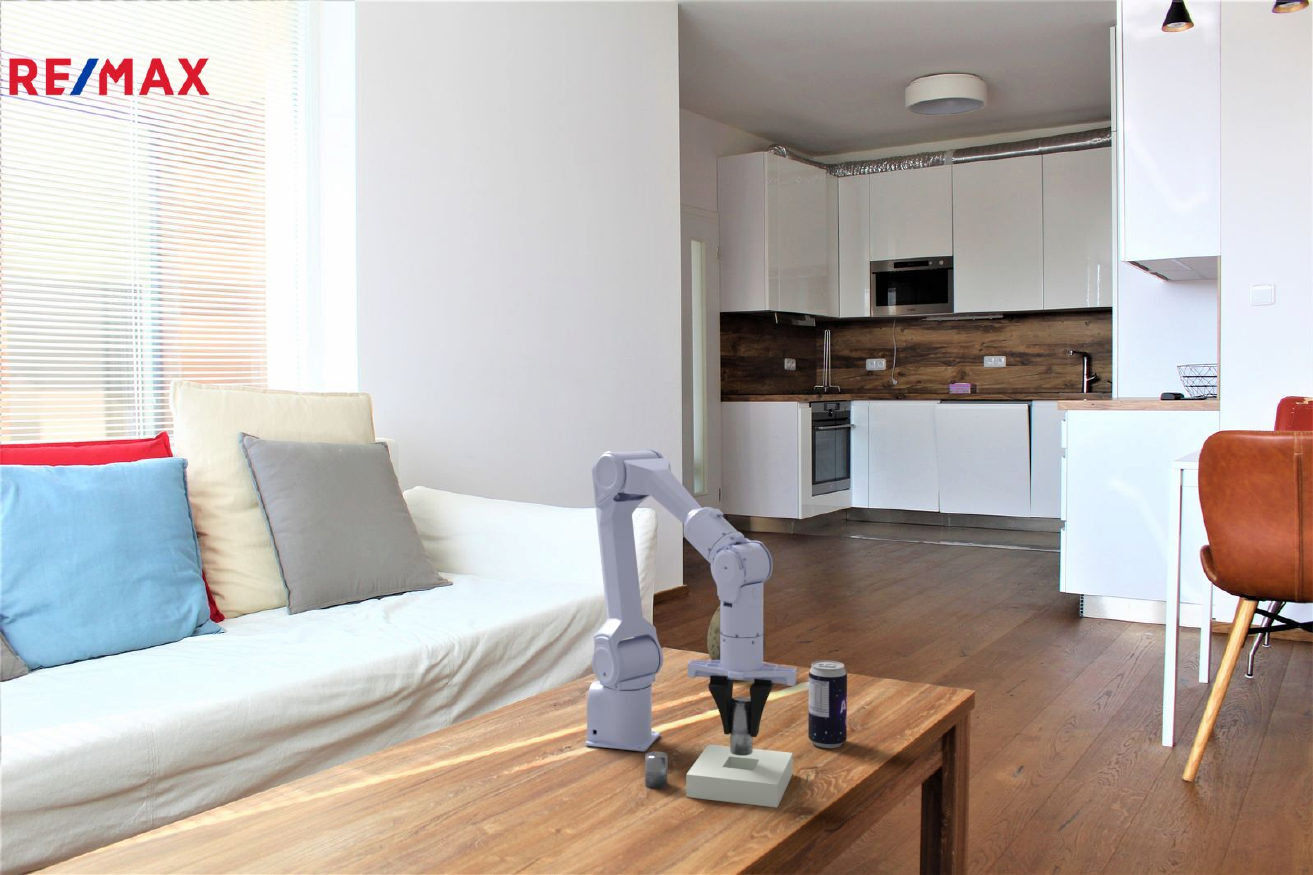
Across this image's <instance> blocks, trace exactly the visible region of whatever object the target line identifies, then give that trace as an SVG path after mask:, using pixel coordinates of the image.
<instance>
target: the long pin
mask: <svg viewBox="0 0 1313 875" xmlns="http://www.w3.org/2000/svg"><path fill="white" fill-rule="evenodd" d="M750 727H751V699H750V697H747V696H736V697H732V699H731V700H730V734H729V736H730V738H729V739H730V740H729V742H730V744H729V746H730V752H731V753H732V754H734V755H740V756H745V755H750V754H752V753H753V749H754V747H753V746H754V745H753V744H754V743H753V740H754V737H751V734H750Z"/></svg>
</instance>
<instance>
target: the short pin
mask: <svg viewBox="0 0 1313 875" xmlns="http://www.w3.org/2000/svg"><path fill="white" fill-rule="evenodd" d="M644 757H645V758H644V759H645V760H644V761H645V762H644V764H645V765H644V768H645V769H644V777H645V778H644V780H645V781H644V785H645V788H649V789H652V790H661V789H665V788H666V787H667V786H668V754H667V753H665V752H663V751H649V752H647V753H646V754H644Z"/></svg>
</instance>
